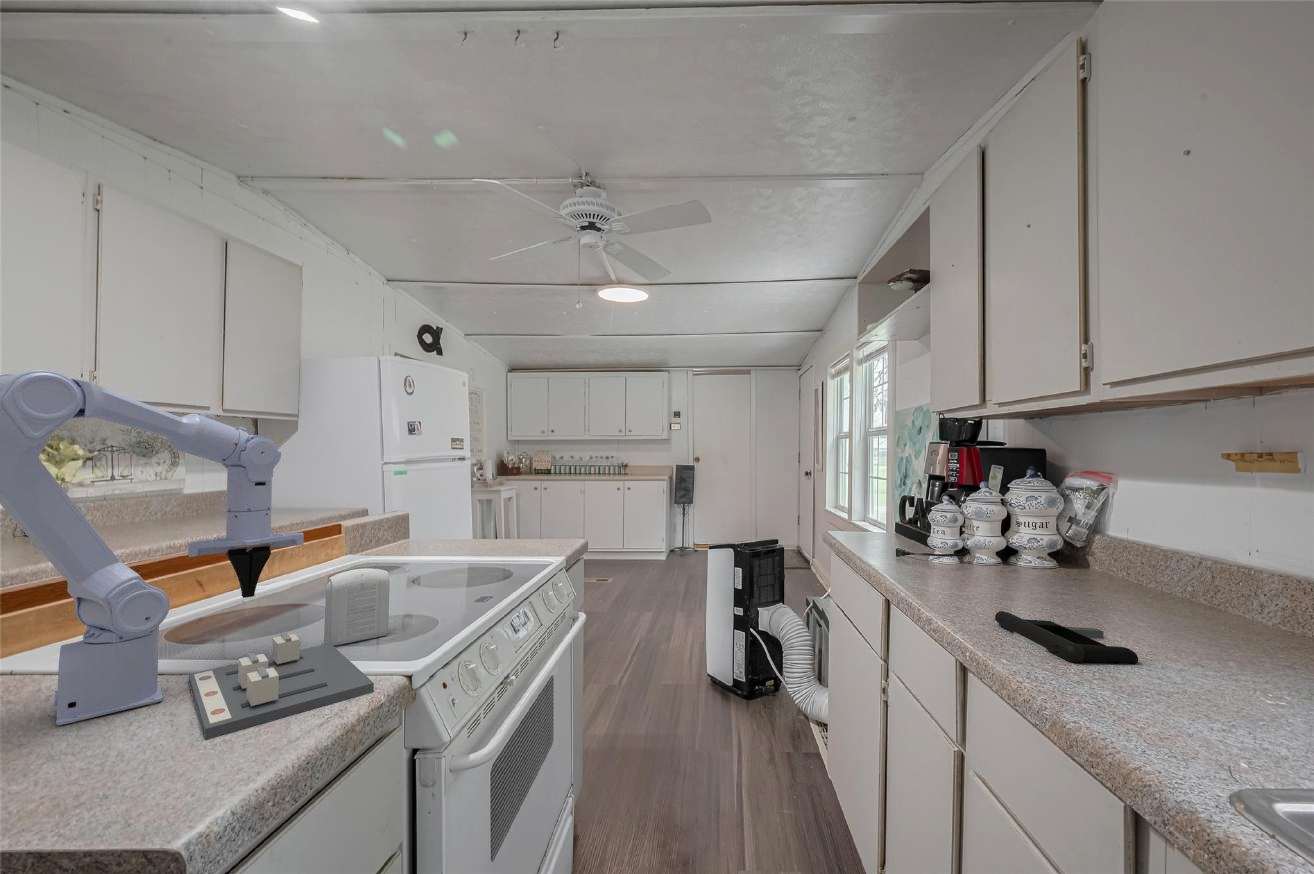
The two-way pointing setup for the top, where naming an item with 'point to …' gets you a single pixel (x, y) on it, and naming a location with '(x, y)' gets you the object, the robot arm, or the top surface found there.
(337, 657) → the switch board
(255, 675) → the near tab
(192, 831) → the top surface
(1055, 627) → the door handle
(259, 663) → the middle tab
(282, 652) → the far tab
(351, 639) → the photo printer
